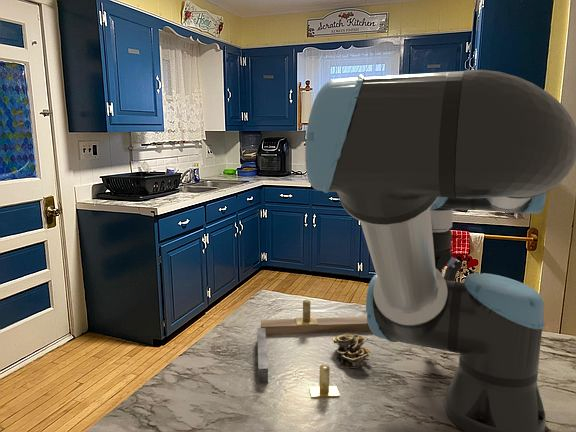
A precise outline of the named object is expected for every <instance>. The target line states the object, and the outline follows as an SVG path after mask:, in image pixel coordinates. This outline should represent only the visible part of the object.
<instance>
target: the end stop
mask: <svg viewBox="0 0 576 432" xmlns="http://www.w3.org/2000/svg"><path fill="white" fill-rule="evenodd" d="M256 332H257V334H256V335H257V336H256V337H257V363H258V364H257V366H258V368H257V373H258V374H257V375H258V384H268V383H269V363H268V349H267V348H268V347H267V335H266V332H265V328H261V327H260V328H259V327H258V328H257V331H256Z"/></svg>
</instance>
